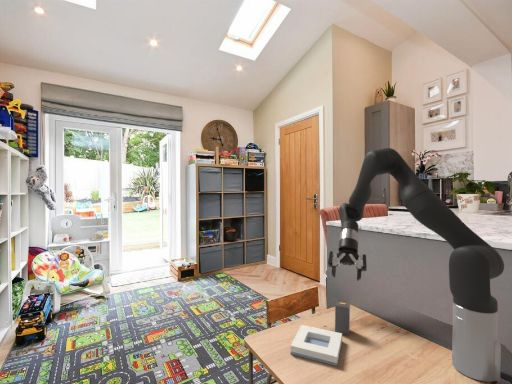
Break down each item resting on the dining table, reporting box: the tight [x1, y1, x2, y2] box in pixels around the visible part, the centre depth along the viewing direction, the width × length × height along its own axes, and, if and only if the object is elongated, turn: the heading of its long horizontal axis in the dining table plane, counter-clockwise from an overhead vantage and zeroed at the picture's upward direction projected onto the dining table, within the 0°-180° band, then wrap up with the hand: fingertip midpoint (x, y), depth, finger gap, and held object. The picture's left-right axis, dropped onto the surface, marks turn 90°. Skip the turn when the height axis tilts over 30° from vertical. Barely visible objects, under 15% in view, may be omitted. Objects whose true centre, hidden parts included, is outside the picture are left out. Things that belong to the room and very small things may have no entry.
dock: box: [290, 324, 343, 367], centre depth 81 cm, size 13×13×2 cm
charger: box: [334, 301, 351, 336], centre depth 90 cm, size 4×4×9 cm
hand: (345, 278), depth 101 cm, fingers open, 8 cm apart
